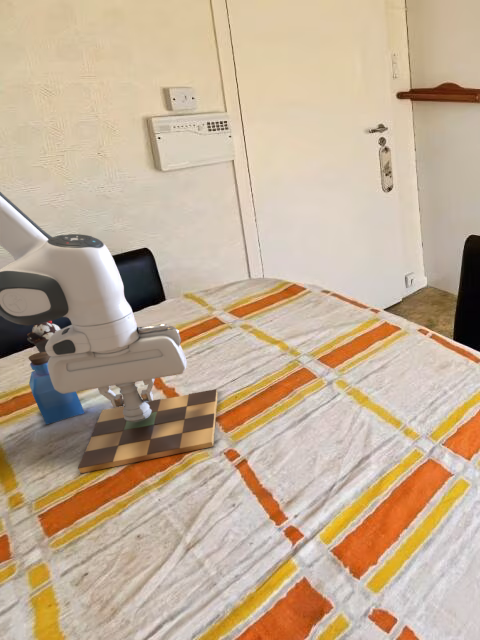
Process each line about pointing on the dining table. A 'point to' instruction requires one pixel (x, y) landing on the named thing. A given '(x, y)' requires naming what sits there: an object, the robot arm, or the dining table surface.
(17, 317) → the robot arm
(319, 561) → the dining table surface
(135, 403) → the rook chess piece
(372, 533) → the dining table surface
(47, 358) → the perfume bottle
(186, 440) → the chessboard
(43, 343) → the sundae
